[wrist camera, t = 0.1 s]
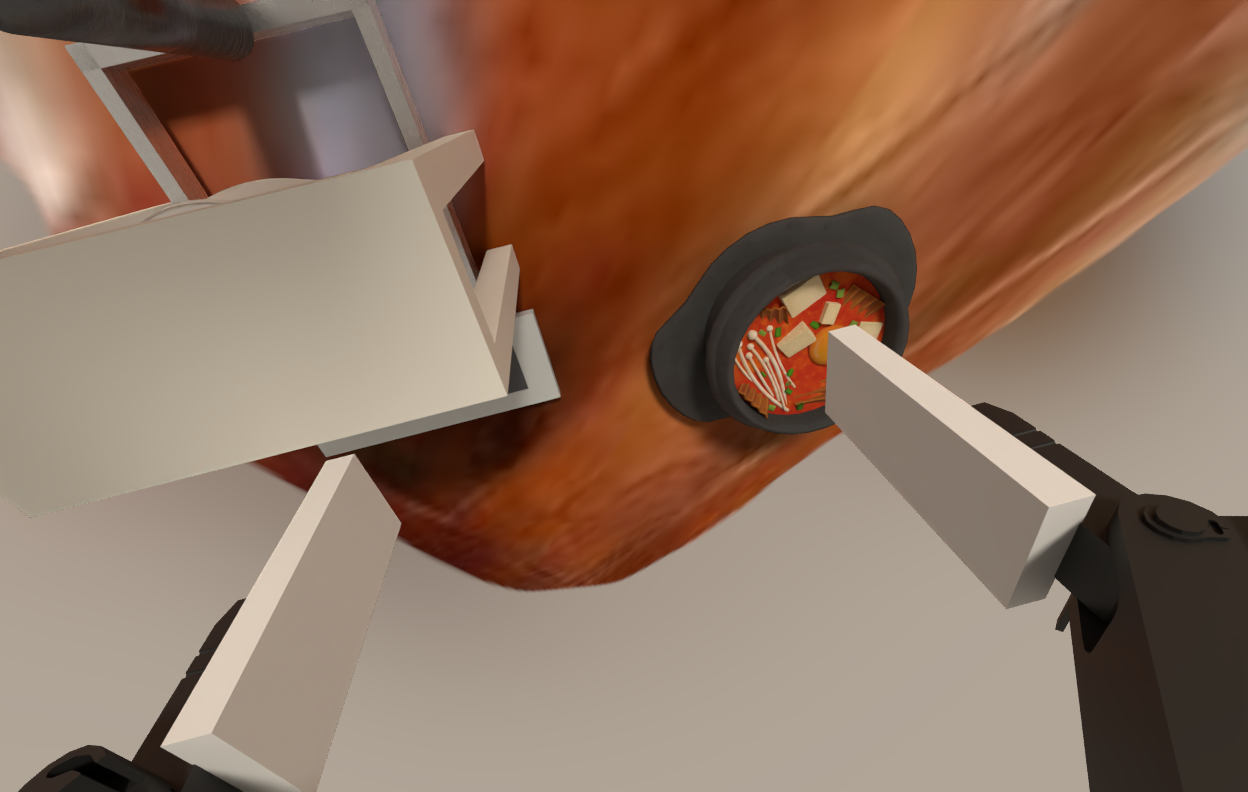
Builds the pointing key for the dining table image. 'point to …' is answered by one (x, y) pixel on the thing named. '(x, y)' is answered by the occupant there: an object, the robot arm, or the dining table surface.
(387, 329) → the open rectangular frame
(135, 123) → the picture frame
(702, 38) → the dining table surface
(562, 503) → the dining table surface
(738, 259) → the casserole
